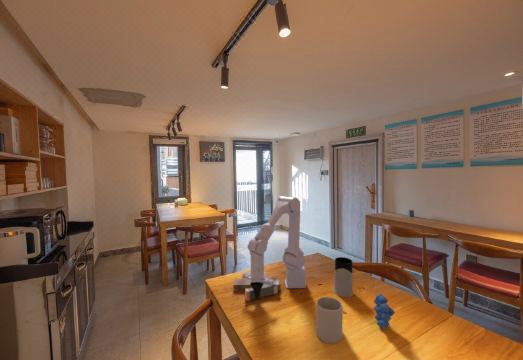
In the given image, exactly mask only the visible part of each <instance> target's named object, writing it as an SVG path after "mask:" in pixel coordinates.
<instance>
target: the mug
mask: <svg viewBox="0 0 523 360" xmlns="http://www.w3.org/2000/svg"><path fill="white" fill-rule="evenodd" d="M343 309H344V308H343V303H342V302H341V301H340V300H339V299H337V298H334V297H331V296H330V297H329V296H324V297H320V298H318V299H317V301H316V328H315V329H316V330H315V331H316V336H317V337H318V339H319V340H321V341H322V342H325V343H327V344H333V345H334V344H338V343H340V342H341V341H342V339H343V312H342V311H344V310H343Z"/></svg>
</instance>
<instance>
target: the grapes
mask: <svg viewBox="0 0 523 360" xmlns="http://www.w3.org/2000/svg"><path fill="white" fill-rule="evenodd" d="M373 302H374V304H375V306H374V307H373V310H374V312H375V313H376V314H375V316H374V318H375V320H376V321H377V322H376V324H377V325H378V327H380V329H388V328H389V326H390V324H391V323H390V320H392V317H393V316H394V314H396V312H395V310H394V309H393V308H392V307H391V306H390V305H389V304H387V303H388V302H389V300H388V298H387V297H386V296H384V295H383V294H382V293H378V294H377V295H376V296H375V297H374V299H373Z"/></svg>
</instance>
